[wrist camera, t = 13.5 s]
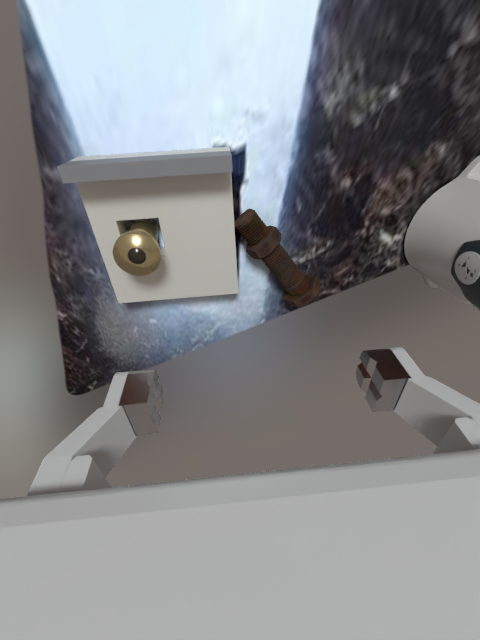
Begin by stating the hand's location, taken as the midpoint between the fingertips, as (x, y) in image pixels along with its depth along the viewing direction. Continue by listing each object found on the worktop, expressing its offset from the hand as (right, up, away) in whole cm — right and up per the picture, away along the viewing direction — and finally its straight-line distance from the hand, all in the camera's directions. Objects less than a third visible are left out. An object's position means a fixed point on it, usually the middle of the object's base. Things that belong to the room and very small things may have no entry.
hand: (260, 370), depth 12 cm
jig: (-10, +14, +27) cm, 32 cm away
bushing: (-13, +14, +27) cm, 33 cm away
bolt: (+4, +12, +31) cm, 34 cm away
